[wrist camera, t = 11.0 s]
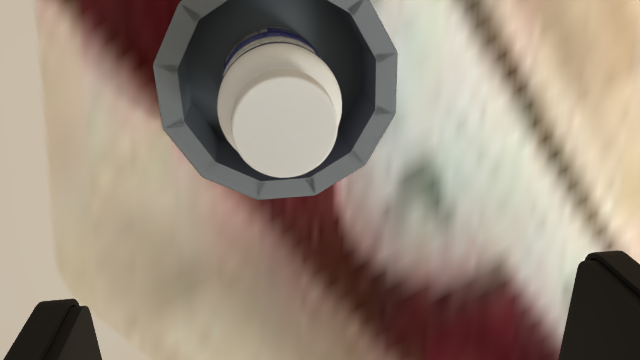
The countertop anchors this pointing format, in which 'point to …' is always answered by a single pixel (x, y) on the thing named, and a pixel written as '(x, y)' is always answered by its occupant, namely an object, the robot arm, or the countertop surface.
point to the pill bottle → (278, 102)
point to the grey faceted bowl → (331, 44)
